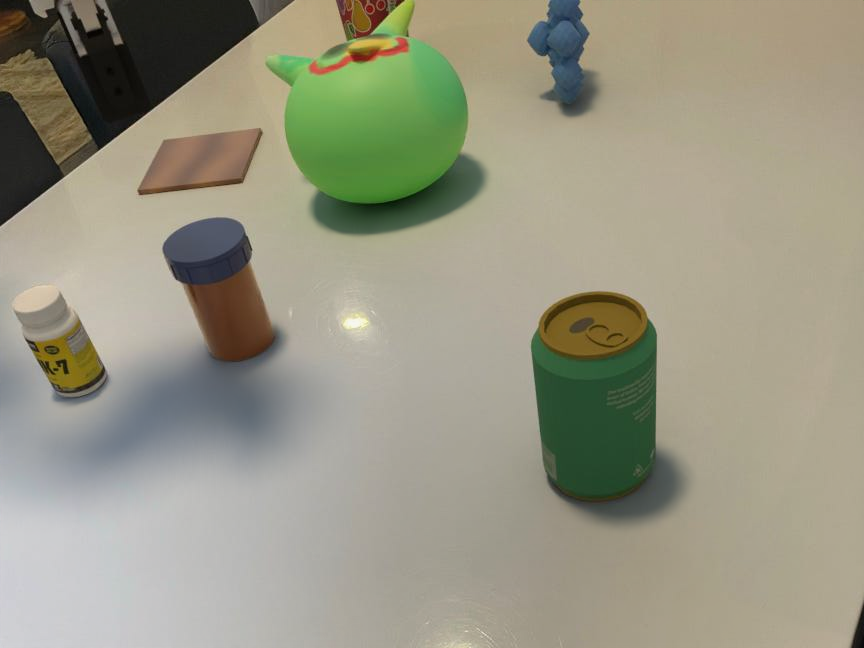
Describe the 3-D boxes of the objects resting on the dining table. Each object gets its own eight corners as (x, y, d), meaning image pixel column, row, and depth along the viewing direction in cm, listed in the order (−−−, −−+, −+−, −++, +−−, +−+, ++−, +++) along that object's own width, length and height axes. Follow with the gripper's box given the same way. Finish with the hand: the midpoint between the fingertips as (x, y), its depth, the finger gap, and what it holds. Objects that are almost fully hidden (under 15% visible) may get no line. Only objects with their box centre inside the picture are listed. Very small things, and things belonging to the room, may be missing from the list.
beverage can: (596, 416, 73) (589, 272, 64) (678, 461, 69) (684, 313, 59) (521, 472, 70) (502, 330, 61) (602, 522, 66) (595, 378, 57)
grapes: (534, 75, 112) (524, -45, 103) (592, 69, 111) (588, -53, 102) (528, 121, 105) (517, -4, 96) (591, 115, 104) (586, -12, 95)
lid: (162, 289, 78) (153, 266, 77) (182, 244, 82) (173, 221, 81) (243, 280, 77) (235, 257, 76) (259, 235, 82) (251, 213, 80)
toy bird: (325, 251, 94) (281, 91, 82) (290, 178, 104) (247, 28, 93) (498, 198, 95) (478, 34, 84) (447, 132, 106) (423, -21, 95)
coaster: (138, 194, 107) (136, 190, 106) (165, 143, 114) (163, 139, 114) (242, 182, 105) (241, 178, 105) (262, 132, 112) (260, 127, 112)
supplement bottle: (44, 395, 85) (-6, 311, 78) (76, 362, 87) (30, 278, 81) (87, 402, 83) (39, 317, 77) (118, 369, 86) (75, 284, 79)
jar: (202, 364, 84) (162, 269, 77) (216, 324, 88) (179, 230, 81) (268, 358, 84) (233, 262, 77) (280, 318, 87) (247, 223, 80)
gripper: (-96, -245, 57) (48, 68, 70) (-89, -205, 46) (79, 155, 59) (28, -278, 58) (146, 36, 71) (64, -246, 47) (195, 117, 60)
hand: (116, 90), depth 65 cm, fingers open, 9 cm apart
